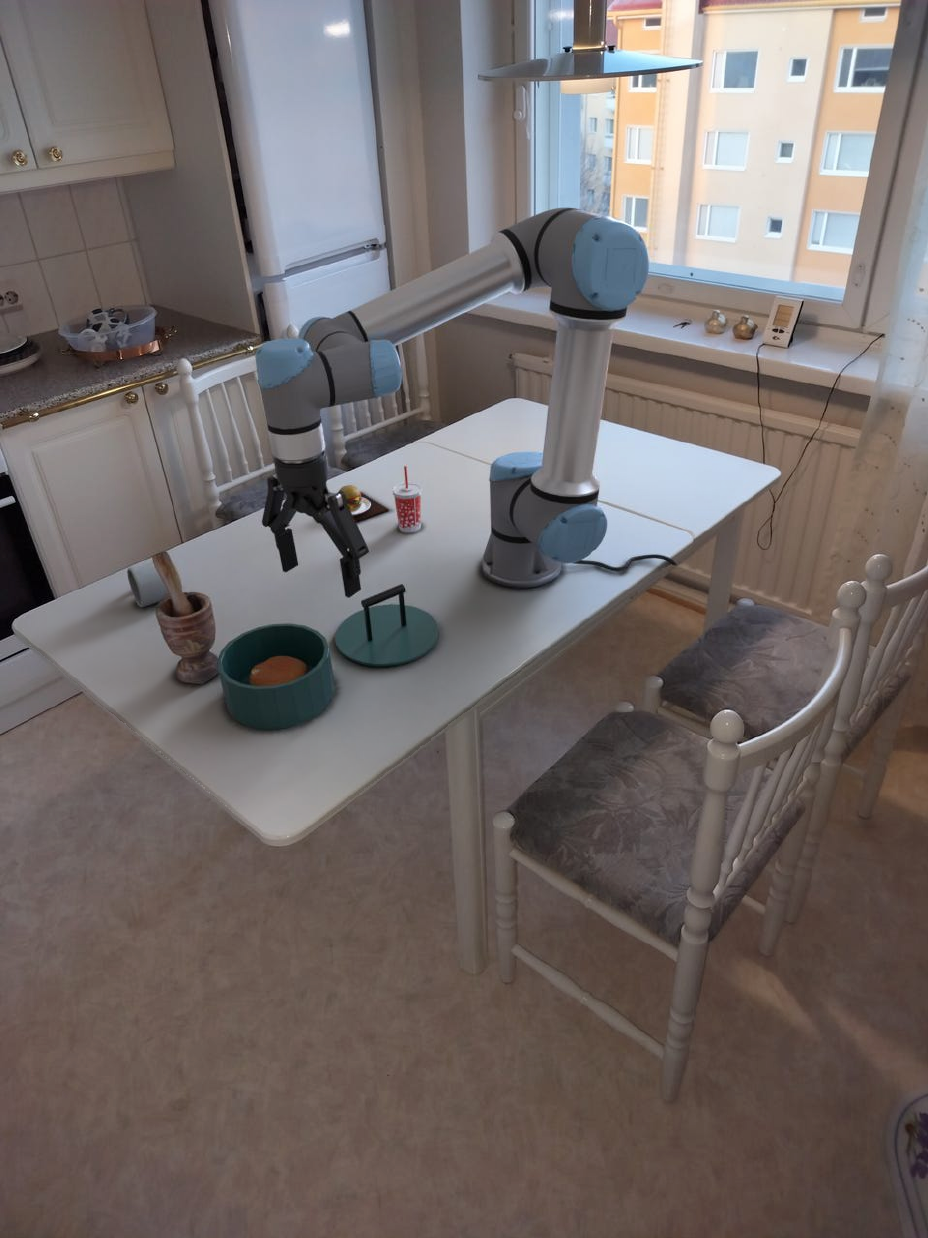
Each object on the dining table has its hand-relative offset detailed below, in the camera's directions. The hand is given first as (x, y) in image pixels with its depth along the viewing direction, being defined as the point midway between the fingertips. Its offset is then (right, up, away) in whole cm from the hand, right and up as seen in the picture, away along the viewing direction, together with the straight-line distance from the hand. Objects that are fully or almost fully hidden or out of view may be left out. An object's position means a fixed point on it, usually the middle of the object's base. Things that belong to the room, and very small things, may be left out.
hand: (321, 580), depth 135 cm
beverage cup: (+11, +13, +50) cm, 53 cm away
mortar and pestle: (-23, -14, +11) cm, 29 cm away
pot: (-7, -18, +4) cm, 20 cm away
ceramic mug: (-36, -2, +30) cm, 47 cm away
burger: (-7, -18, +4) cm, 20 cm away
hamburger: (-3, +18, +57) cm, 60 cm away
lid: (+9, -9, +16) cm, 20 cm away
